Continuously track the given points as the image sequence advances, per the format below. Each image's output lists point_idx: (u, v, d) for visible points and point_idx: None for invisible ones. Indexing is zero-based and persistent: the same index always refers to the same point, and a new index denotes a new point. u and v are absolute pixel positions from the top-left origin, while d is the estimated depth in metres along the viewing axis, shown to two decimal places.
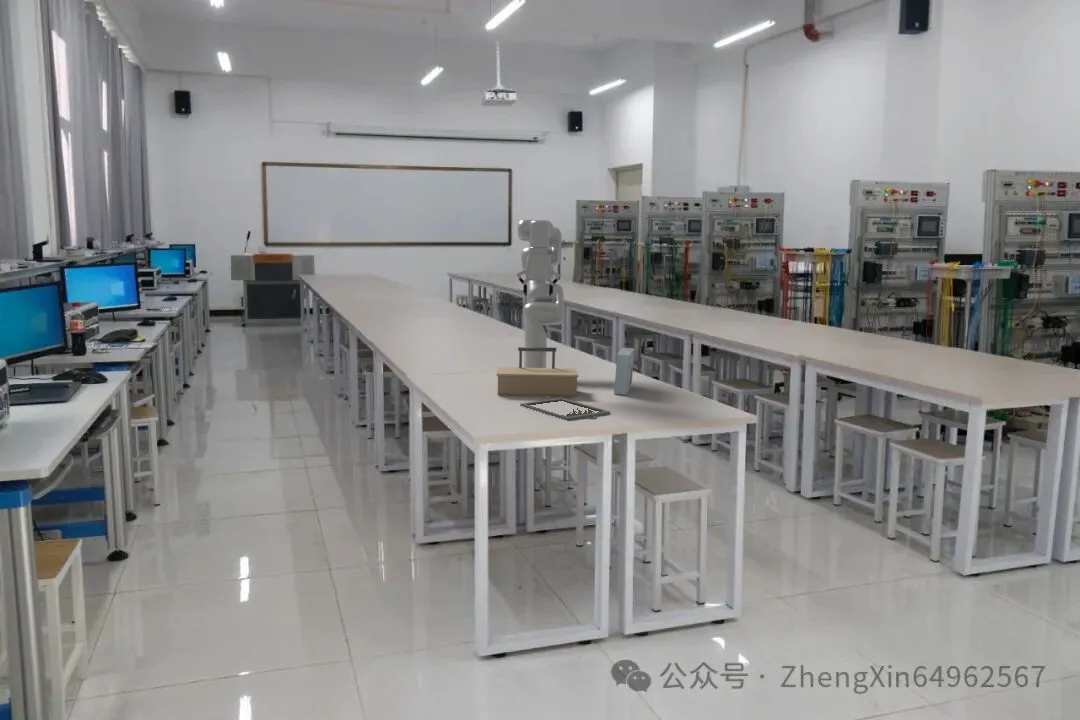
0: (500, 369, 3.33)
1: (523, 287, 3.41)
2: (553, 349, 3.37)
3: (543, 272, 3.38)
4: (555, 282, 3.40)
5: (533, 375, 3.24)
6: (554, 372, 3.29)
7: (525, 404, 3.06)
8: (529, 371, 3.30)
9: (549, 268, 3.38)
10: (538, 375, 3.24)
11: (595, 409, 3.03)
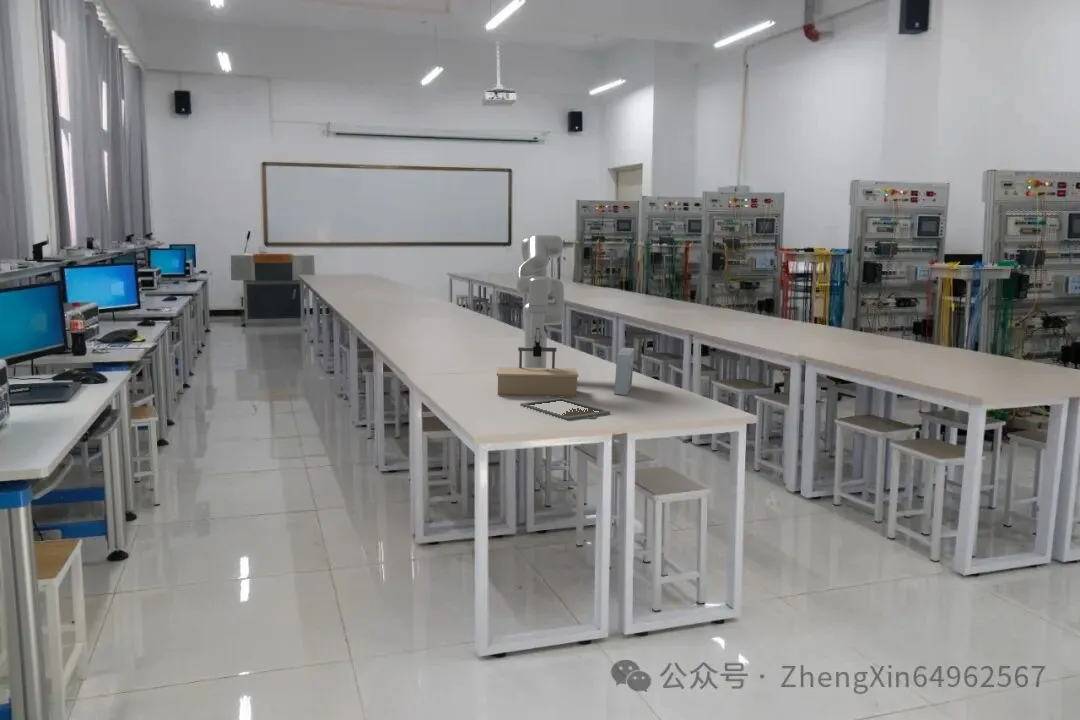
0: (500, 369, 3.33)
1: (536, 349, 3.35)
2: (553, 349, 3.37)
3: None
4: None
5: (533, 375, 3.24)
6: (554, 372, 3.29)
7: (525, 404, 3.06)
8: (529, 371, 3.30)
9: None
10: (538, 375, 3.24)
11: (595, 409, 3.03)
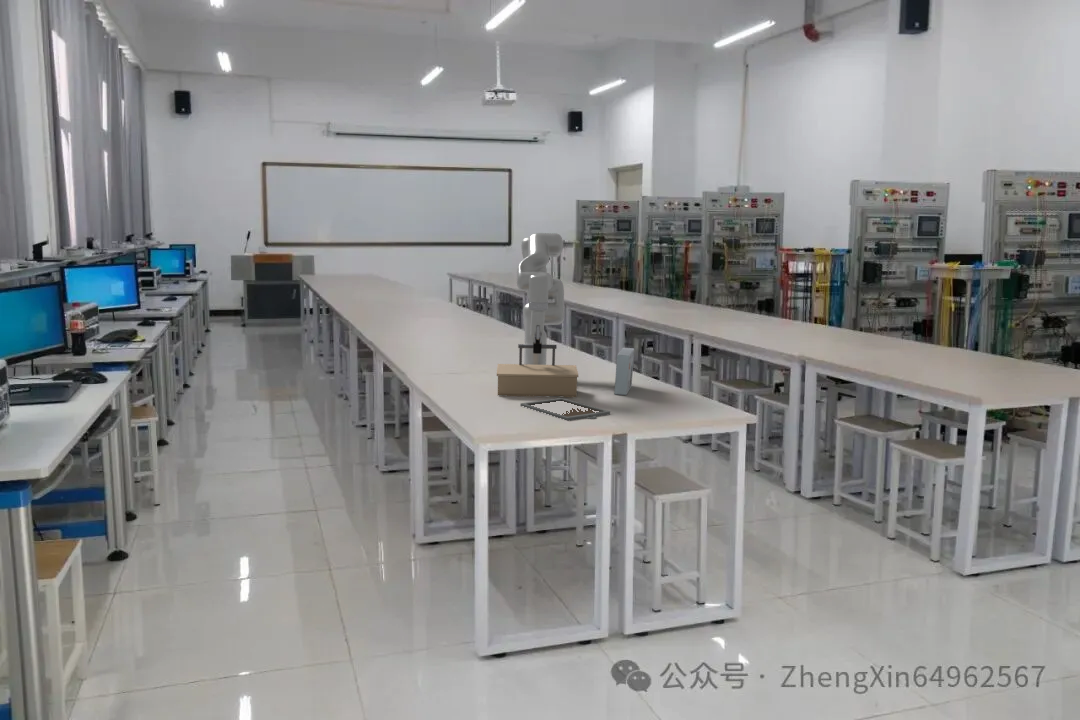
0: (500, 367, 3.33)
1: (536, 346, 3.34)
2: (553, 346, 3.36)
3: None
4: None
5: (533, 375, 3.24)
6: (554, 371, 3.29)
7: (525, 404, 3.06)
8: (529, 370, 3.30)
9: None
10: (538, 375, 3.24)
11: (595, 409, 3.03)
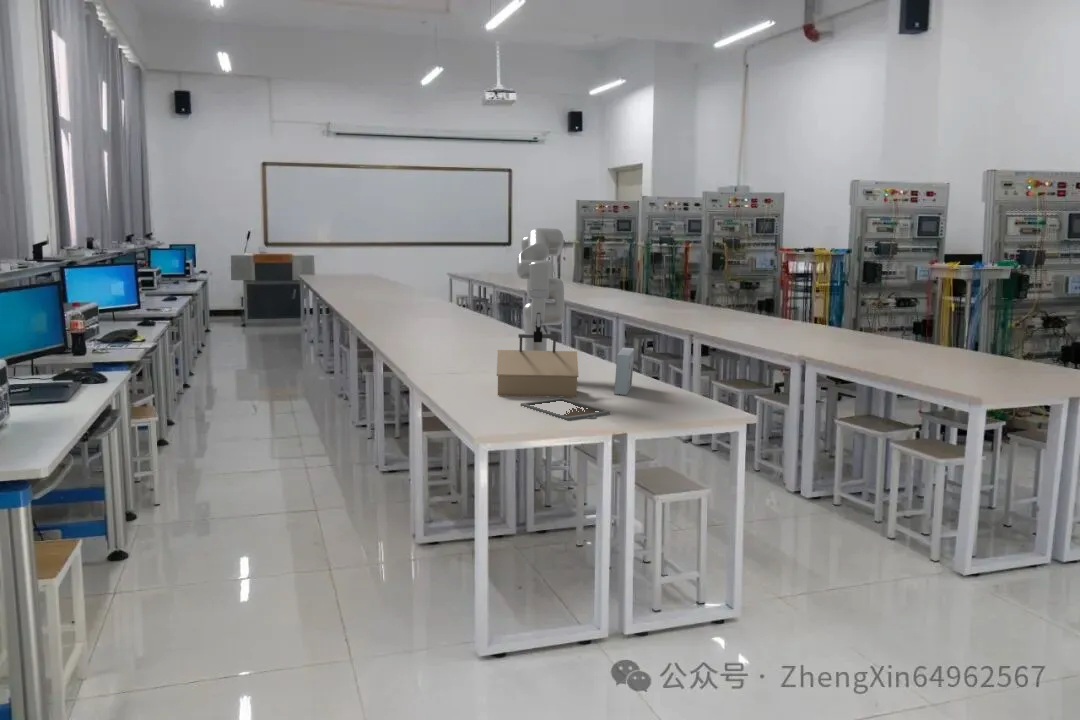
0: (500, 358, 3.31)
1: (536, 335, 3.28)
2: (554, 337, 3.30)
3: None
4: None
5: (533, 375, 3.24)
6: (554, 366, 3.28)
7: (525, 404, 3.07)
8: (529, 364, 3.29)
9: None
10: (538, 375, 3.24)
11: (595, 409, 3.03)
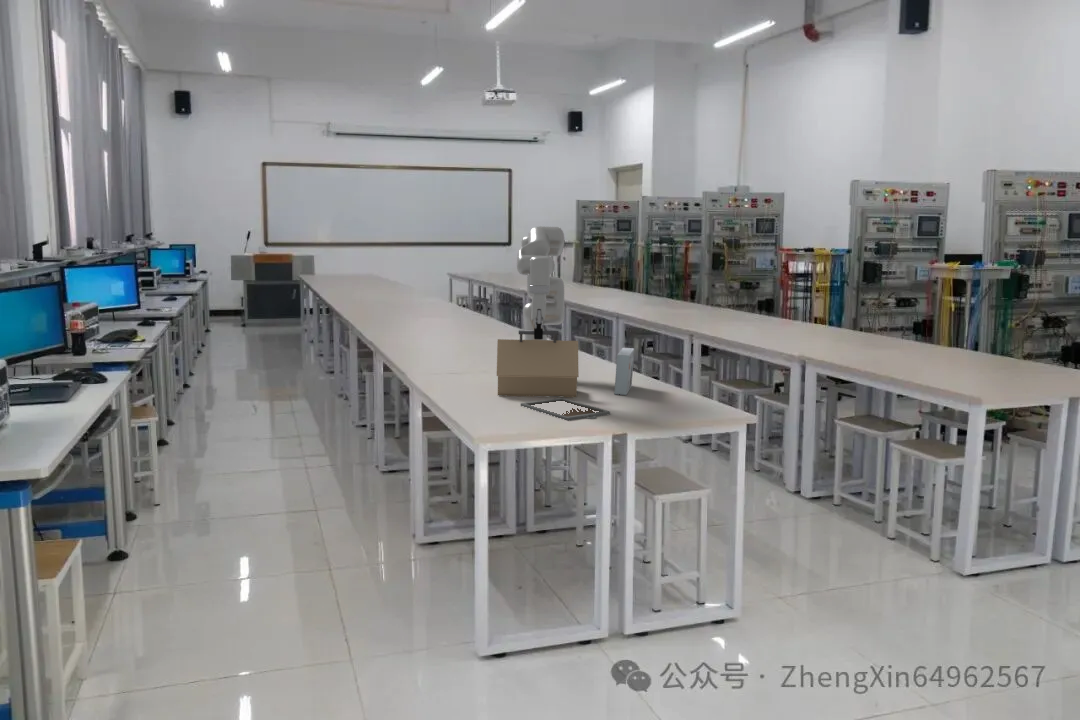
0: (500, 351, 3.27)
1: (537, 331, 3.21)
2: (555, 334, 3.23)
3: None
4: None
5: (533, 376, 3.24)
6: (555, 363, 3.26)
7: (525, 404, 3.07)
8: (529, 360, 3.26)
9: None
10: (538, 376, 3.24)
11: (595, 409, 3.03)
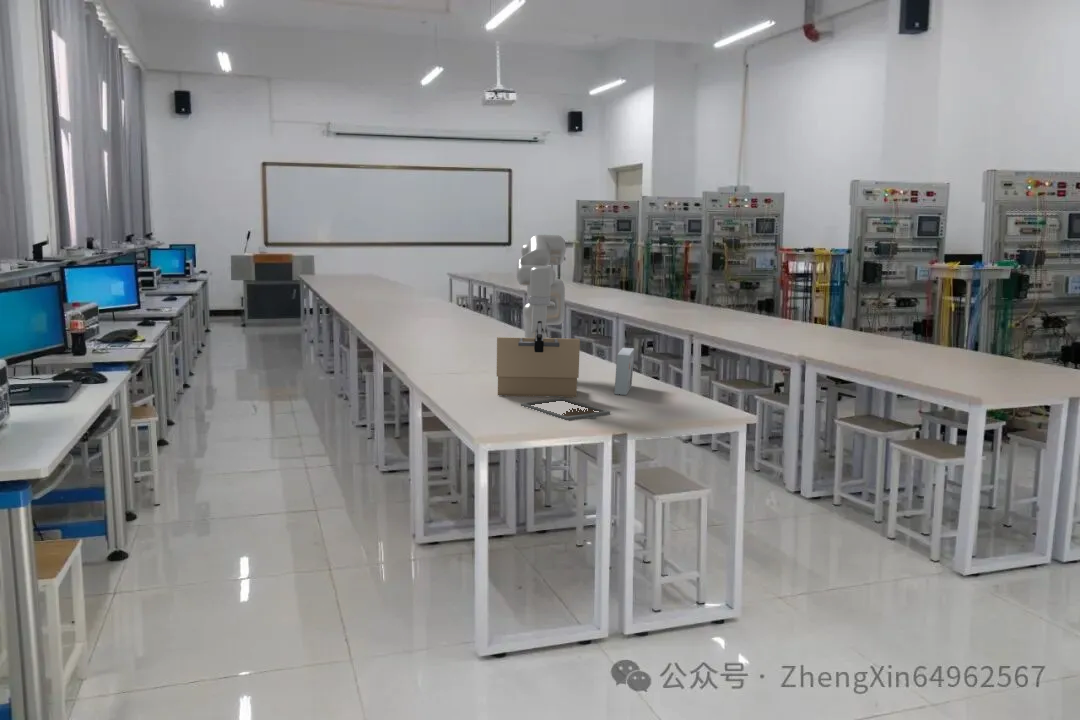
0: (500, 351, 3.21)
1: (537, 344, 3.09)
2: (556, 346, 3.13)
3: None
4: None
5: None
6: (555, 364, 3.22)
7: (525, 404, 3.07)
8: (530, 360, 3.22)
9: None
10: (538, 376, 3.24)
11: (595, 409, 3.03)
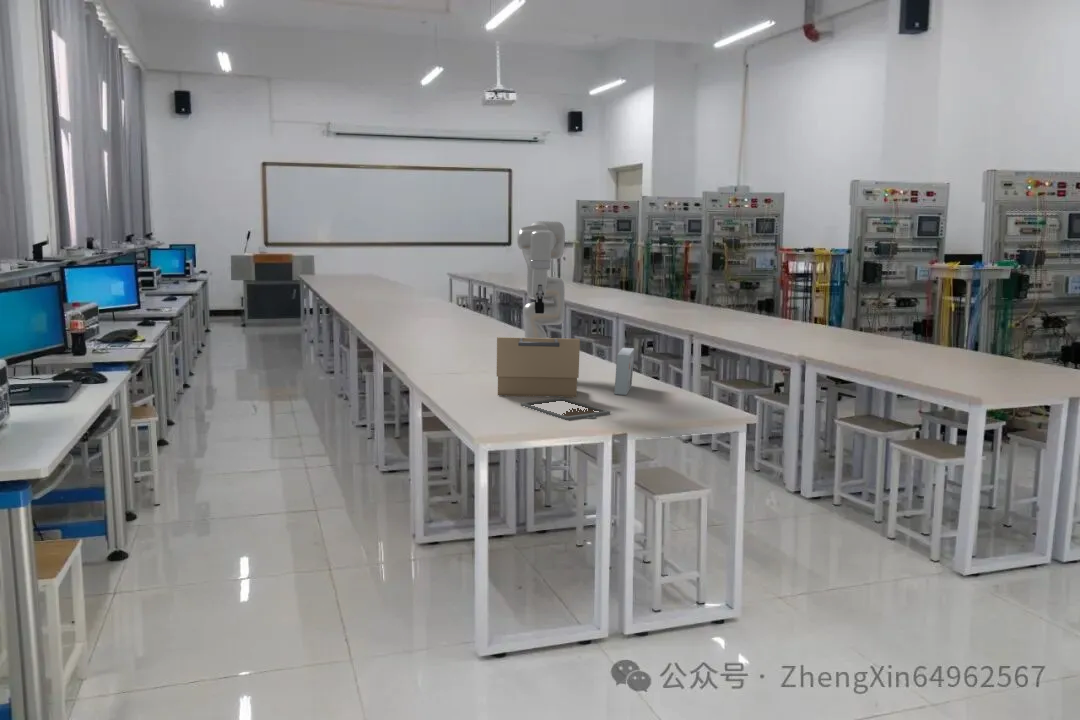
0: (500, 351, 3.21)
1: (538, 305, 3.11)
2: (556, 346, 3.13)
3: None
4: None
5: None
6: (555, 364, 3.22)
7: (526, 404, 3.07)
8: (530, 360, 3.22)
9: None
10: (538, 376, 3.24)
11: (595, 409, 3.03)
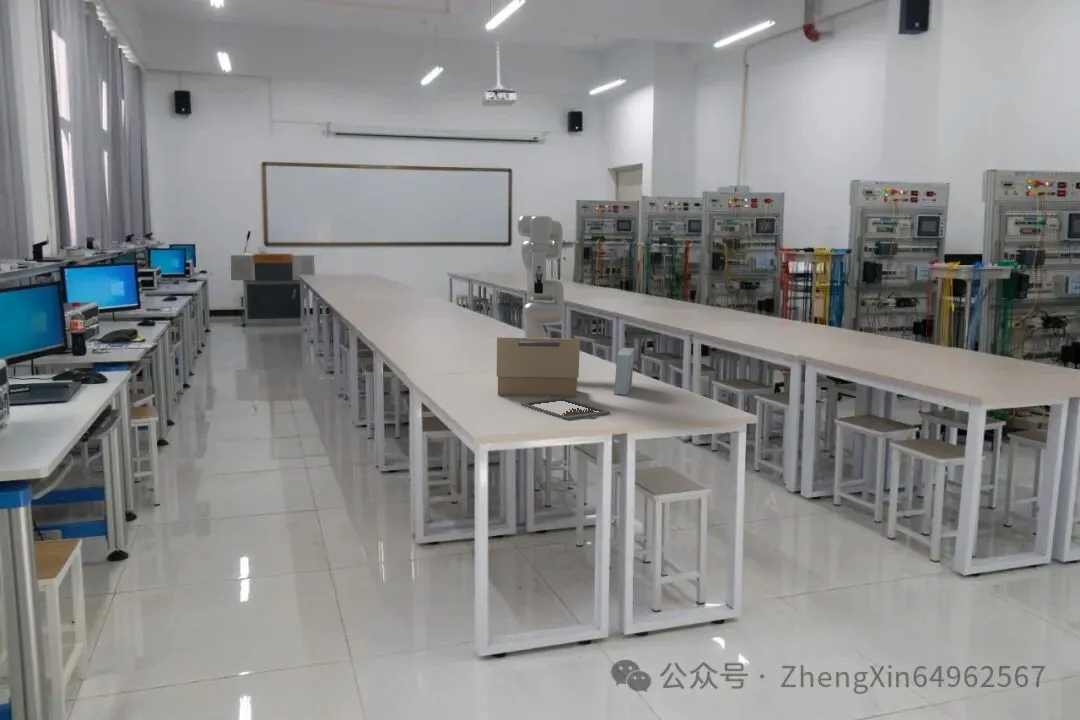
0: (500, 351, 3.21)
1: (537, 286, 3.29)
2: (556, 346, 3.13)
3: None
4: None
5: None
6: (555, 364, 3.22)
7: (526, 404, 3.07)
8: (530, 360, 3.22)
9: None
10: (538, 376, 3.24)
11: (595, 409, 3.03)
